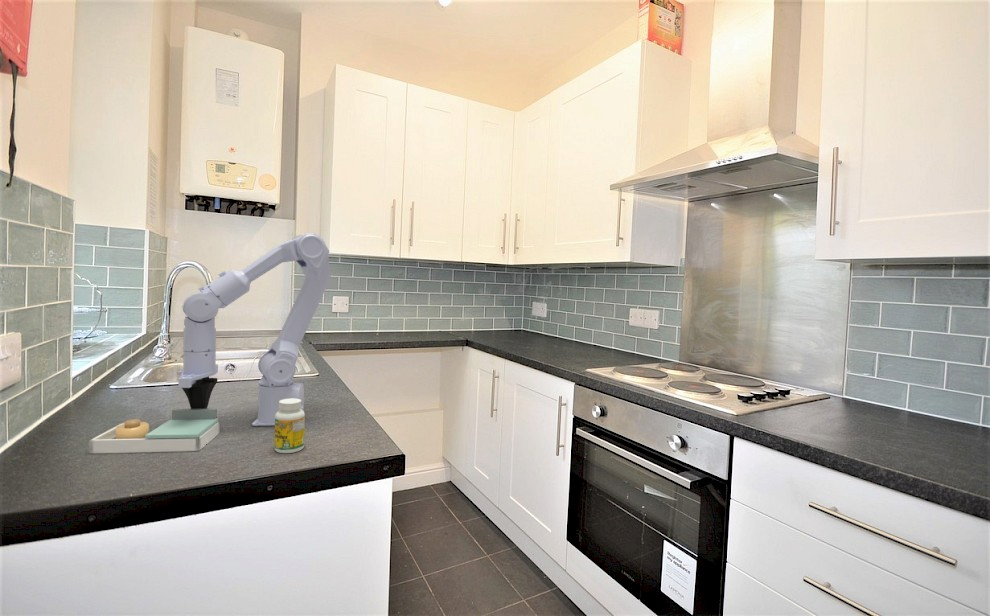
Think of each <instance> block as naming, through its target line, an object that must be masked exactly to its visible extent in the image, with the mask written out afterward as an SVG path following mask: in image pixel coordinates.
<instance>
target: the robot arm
mask: <svg viewBox="0 0 990 616" xmlns="http://www.w3.org/2000/svg"><path fill="white" fill-rule="evenodd" d="M329 254H330V250H329V248H328V245H327V244H326V241H324V239H323V238H322V237H321V236H320V235H318V234H316V233H312V232H308V233H304V234H298V235H296V236H295V235H294V236H293V237H292V238H291V239H289V240H287V241H284V242H282V243H279V245H276V246H274V247H272V248H271V249H269V251H267V252H266V253H264V254H263V255H262V256H260V257H259V258H257V259H255V260H254V261H253V262H251V263H250V264H249V265H247V266H246V267H244V268H243V269H241V270H236V269H235V270H234V269H230V270H228V271H225V270H222V271H221V272H219V274H218V275H219V277H217V278H216V279H215V280H213V281H210V282H209V283H208V284H206V285H204V286H203V285H201V286H199V287H198V288H197V289H198V291H200V292H195V293H191V294H190V295H188V296H187V297H186V298H185V299H184V301H183V305H182V306H181V307H182V308H181V309H182V311H183V313H184V314H185V317H184V321H183V324H184V325H183V326H184V328H183V338H182V339H183V348H182V349H183V350H182V351H183V354H182V355H183V358H182V359H183V360H182V363H183V369H180V370H177V371H176V375H178V376H180V377H179V378H178V379H177V380H178V383H177V384H178V386H177V387H178V388H179V389H181V390H183V392H184V393H185V396H186V398H187V400H188V403H189V407H190V409H208V407H209V401H210V399H211V395H212V392H213V390H214V389H215V386H216V385H217V383H218V378H217V377H212V376H216V374H218V371H219V370H218V369H219V366H218V364H216V360H217V359H216V358H217V357H216V355H217V354H216V353H217V351H216V350H217V349H216V347H217V346H216V345H217V343H216V341H217V329H216V327H215V325H216V324H215V318H216V316H217V315H218V312H219V309H225V308H226V307H228V306H229V305H231V304H232V303H234V302H235V301H237V300H238V299H240V298H241V297H243V296H244V295H245V294H247V293H249V291H250V288H251V283H252V282H253V281H255V280H257V279H258V278H260V277H261V276H263V275H265V274H266V273H269V271H271V270H273V269H274V268H277V266H279V265H281V264H283V263H289V262H297V264H298V265H299V266H300V268H301V270H302V272H303V274H304V277H305V280H304V281H303V284H302V286H301V288H300V290H299V291H298V294H297V296H296V297H295V298H296V299H295V300H294V303H293V305H292V307H291V308H290V311H289V313H288V315H287V318H285V321H284V324H283V326H282V328H281V330H280V332H279V334H278V336H277V338H276V339H275V340H274V342H273V343H272V344H271V346H270V347H269V348H268V351H267V352H265V353H264V354H263V355H262V356H261V357H260V359H259V360H258V371H259V372H260V373H261V375H262V377H261V378H260V379H259V380H258V404H257V405H258V407H257V410H258V411H257V412H258V415H257V418H256V419H255V420H254V421H253V422H252V423H251V426H253V427H254V426H255V427H256V426H257V427H258V426H261V427H262V426H265V427H266V426H270V427H271V426H275V415H276V413H277V412H278V411H280V409H279V401H280V400H283V399H290V398H295V399H300V400H301V408H300V409H301V410H303V411H304V412H305V410H304V408H305V405H304V404H305V403H304V401H305V387H304V383H302V382H301V383H300V382H294V377H295V375H296V371H297V370H296V362H297V360H298V358H299V348H300V345H301V343H302V341H303V338H304V336H305V335H306V332H307V330H308V328H309V326H310V324H311V321H312V319H313V317H314V315H315V313H316V311H317V308H318V306H319V304H320V302H321V299H322V297H323V295H324V294H325V292H326V289H327V287H328V285H329V282H330V280H331V269H330V261H329V256H330V255H329Z"/></svg>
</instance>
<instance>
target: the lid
mask: <svg viewBox="0 0 990 616" xmlns="http://www.w3.org/2000/svg"><path fill="white" fill-rule="evenodd" d="M217 422H219V418H218V408H207V409H191V408H173V409H172V410H171V418H170V419H169V420H168V421H166V422H164V423H162V424H161V425H159V426H158V427H156V428H155V429H153V430H151V431H149V433H148V434H146V435H145V439H148V438H198V437H199V436H200V435H202V434H203V433H204V432H205V431H207V430H208V429H209V428H210V427H212V426H213V425H214V424H215V423H217Z"/></svg>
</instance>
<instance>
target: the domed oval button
mask: <svg viewBox="0 0 990 616" xmlns="http://www.w3.org/2000/svg"><path fill="white" fill-rule="evenodd" d="M123 423H124V424H122V425H120V424H118V425H119V426H118V425H116V426H117V427H116V426H115V427H116V439H144V438H145V435H146V434H148V433H150V431H149V430H150V428H149V427H150V425H149V423H148V422H145V421H141V419H139V418H133V419H132V418H131V419H128V420H127V419H126V420H125V421H124V422H123Z"/></svg>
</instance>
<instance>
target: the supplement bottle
mask: <svg viewBox="0 0 990 616" xmlns="http://www.w3.org/2000/svg"><path fill="white" fill-rule="evenodd" d="M300 408H301V400H300V399H295V398H290V399H283V400H280V401H279V409H280V411H278V412H277V413H276V415H275V425H274V451H275V452H277V453H280V454H293V453H297V452H299V451H302V450H303V449H304V448H305V441H306V440H305V437H306V436H305V435H306V434H305V432H306V430H305V428H306V427H305V425H306V414H305V410H304V411H303V410H301V409H300Z"/></svg>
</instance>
